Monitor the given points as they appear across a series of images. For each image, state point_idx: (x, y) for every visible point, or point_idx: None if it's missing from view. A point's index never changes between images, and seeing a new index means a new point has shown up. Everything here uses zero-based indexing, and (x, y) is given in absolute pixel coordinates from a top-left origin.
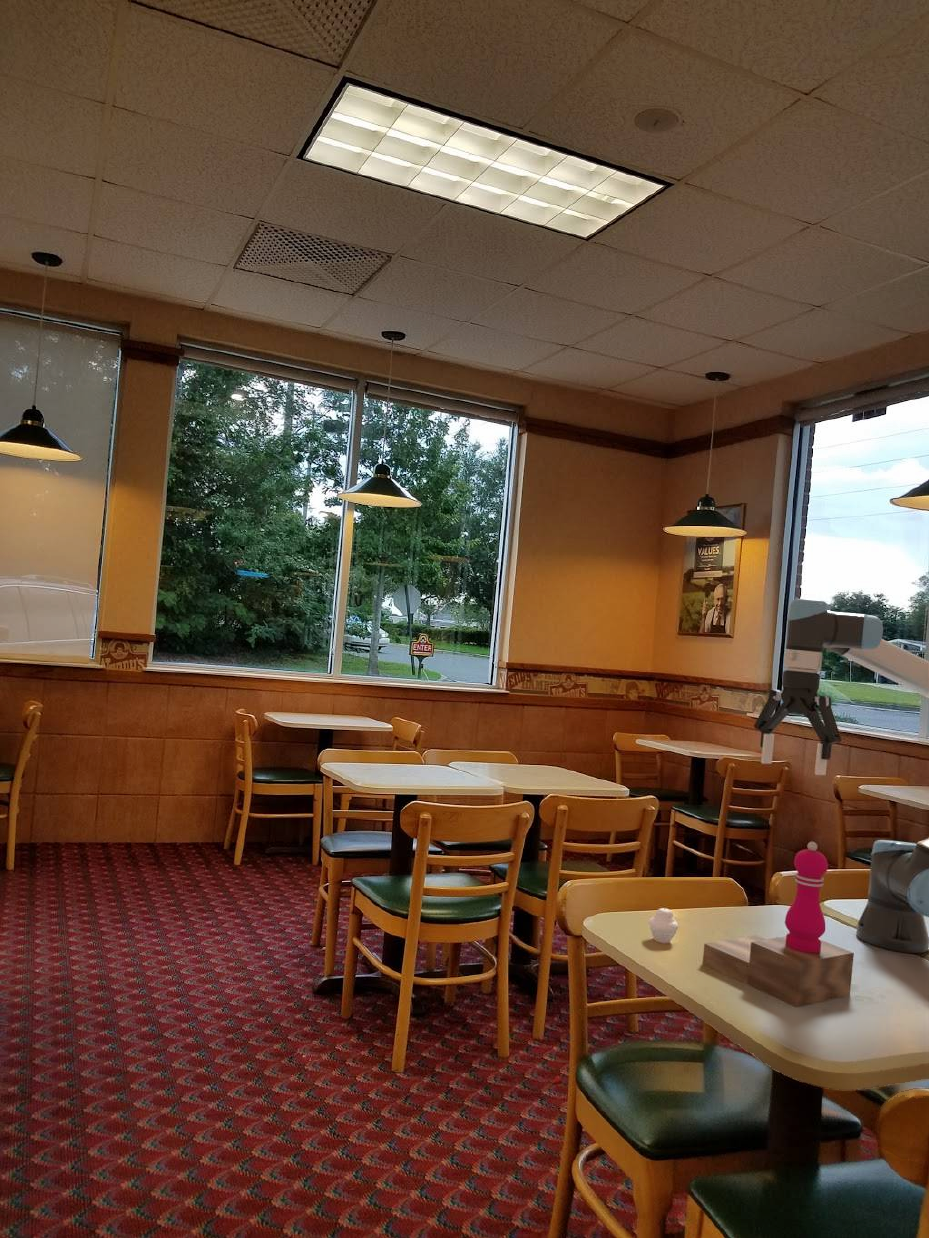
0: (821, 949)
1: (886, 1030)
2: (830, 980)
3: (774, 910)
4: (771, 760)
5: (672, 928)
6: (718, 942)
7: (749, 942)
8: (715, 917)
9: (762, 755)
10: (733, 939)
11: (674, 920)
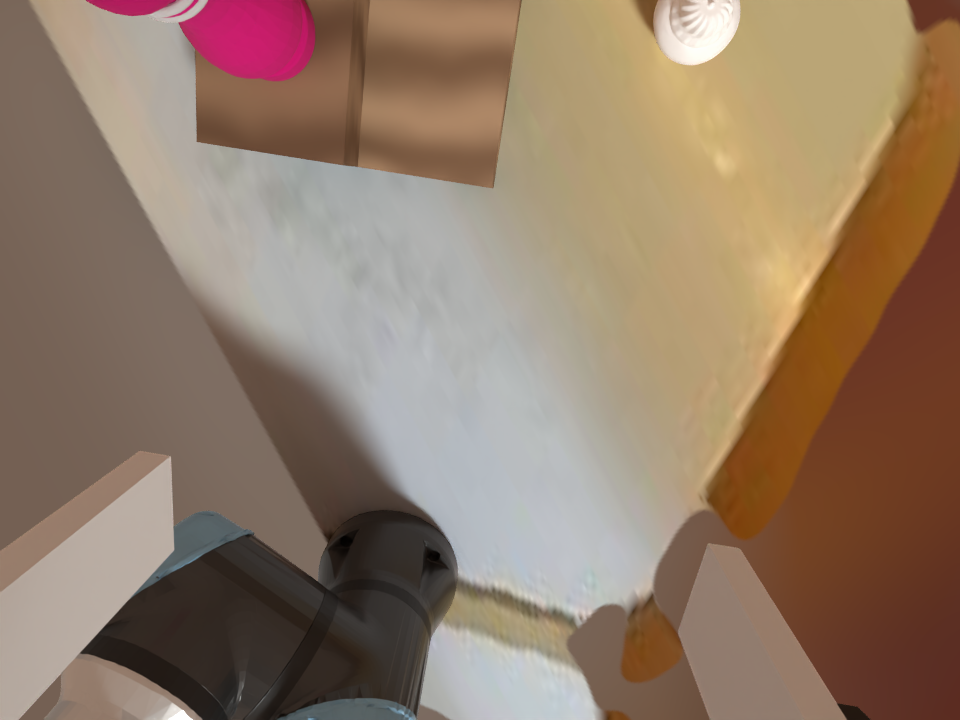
0: None
1: (98, 14)
2: None
3: (636, 542)
4: (688, 650)
5: (657, 2)
6: (510, 10)
7: (469, 108)
8: (694, 358)
9: (764, 601)
10: (504, 84)
11: (672, 28)
